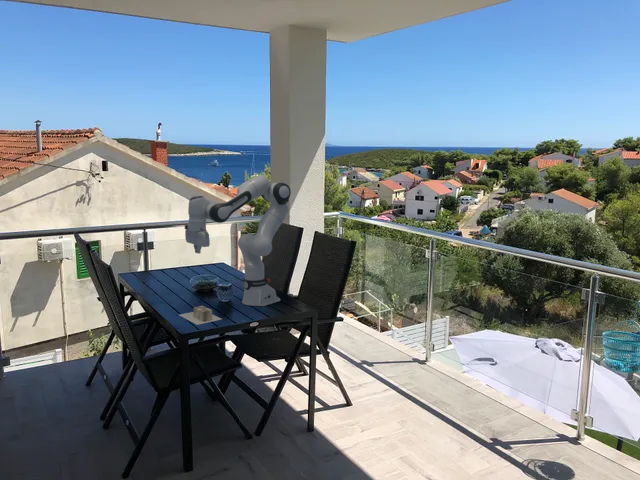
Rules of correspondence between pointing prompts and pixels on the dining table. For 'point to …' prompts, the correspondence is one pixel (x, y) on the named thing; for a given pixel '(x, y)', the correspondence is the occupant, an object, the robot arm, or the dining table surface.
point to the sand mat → (191, 318)
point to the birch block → (202, 313)
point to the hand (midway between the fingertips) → (197, 253)
